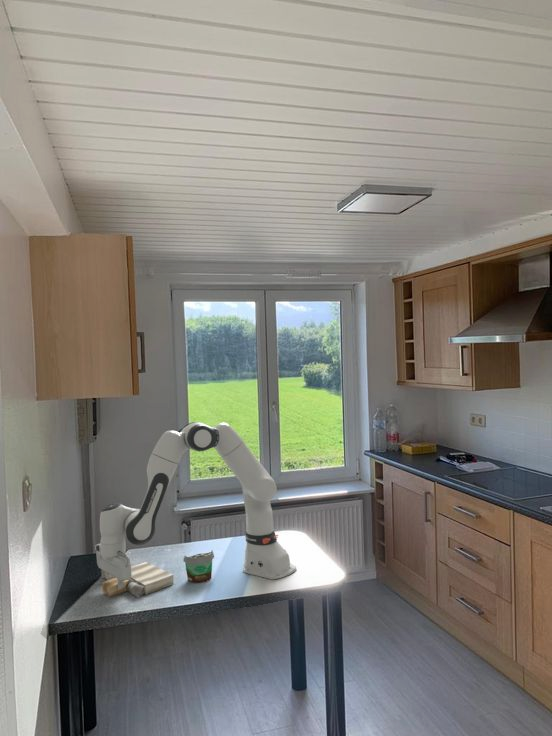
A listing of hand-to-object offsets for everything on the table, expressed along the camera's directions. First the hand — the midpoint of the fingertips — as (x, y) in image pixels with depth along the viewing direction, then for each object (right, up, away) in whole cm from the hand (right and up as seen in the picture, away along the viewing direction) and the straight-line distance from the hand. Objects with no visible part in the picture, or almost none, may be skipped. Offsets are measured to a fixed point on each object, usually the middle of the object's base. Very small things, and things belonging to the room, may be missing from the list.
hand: (114, 585), depth 189 cm
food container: (+31, -2, +8) cm, 32 cm away
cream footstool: (+8, -2, +8) cm, 11 cm away
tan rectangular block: (+1, -2, +1) cm, 3 cm away
